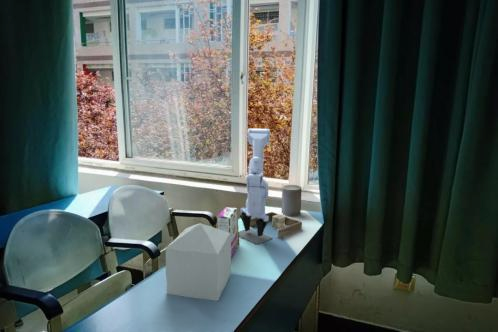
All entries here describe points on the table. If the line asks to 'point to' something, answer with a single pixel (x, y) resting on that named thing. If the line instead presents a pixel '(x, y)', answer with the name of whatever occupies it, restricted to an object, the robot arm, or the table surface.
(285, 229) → the open wooden frame
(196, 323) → the table surface
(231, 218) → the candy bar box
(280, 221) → the birch block
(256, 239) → the mat
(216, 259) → the decorative block
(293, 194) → the pillar candle
